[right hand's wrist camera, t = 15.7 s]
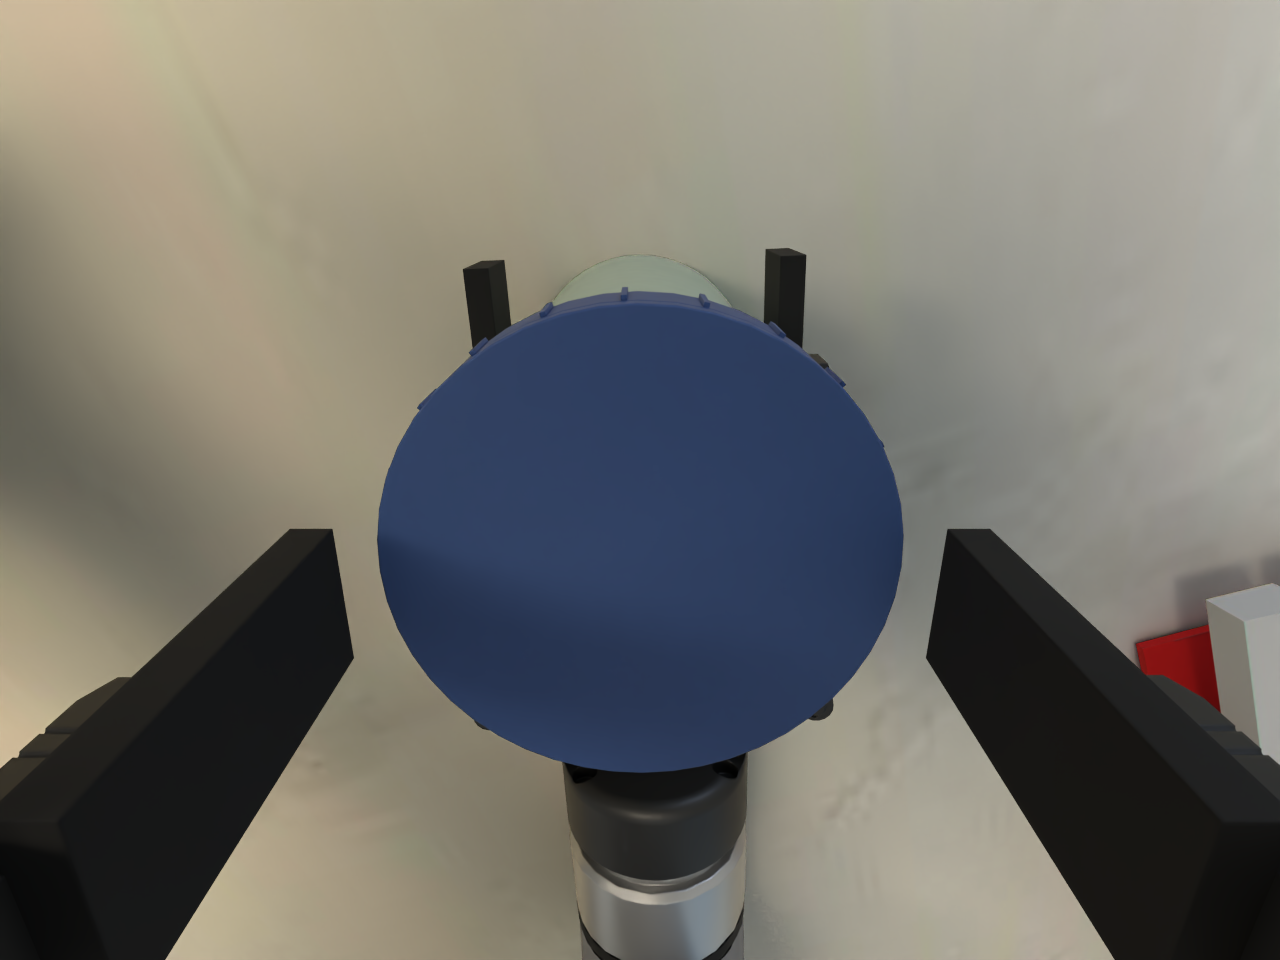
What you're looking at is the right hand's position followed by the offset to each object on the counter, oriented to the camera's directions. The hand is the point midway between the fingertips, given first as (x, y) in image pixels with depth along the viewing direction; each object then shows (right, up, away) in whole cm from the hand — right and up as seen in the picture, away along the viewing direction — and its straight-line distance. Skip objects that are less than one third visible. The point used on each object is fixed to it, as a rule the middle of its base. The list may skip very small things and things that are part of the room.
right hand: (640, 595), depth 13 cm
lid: (0, +1, +1) cm, 1 cm away
